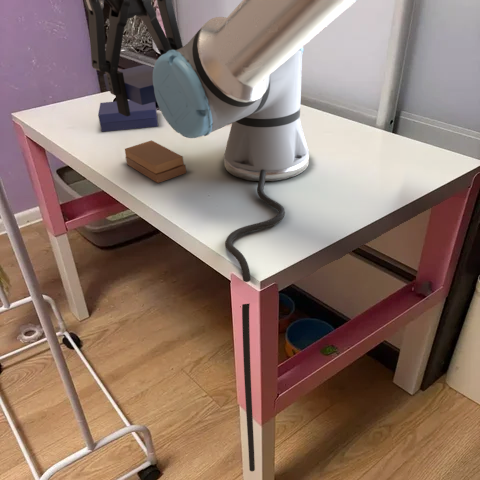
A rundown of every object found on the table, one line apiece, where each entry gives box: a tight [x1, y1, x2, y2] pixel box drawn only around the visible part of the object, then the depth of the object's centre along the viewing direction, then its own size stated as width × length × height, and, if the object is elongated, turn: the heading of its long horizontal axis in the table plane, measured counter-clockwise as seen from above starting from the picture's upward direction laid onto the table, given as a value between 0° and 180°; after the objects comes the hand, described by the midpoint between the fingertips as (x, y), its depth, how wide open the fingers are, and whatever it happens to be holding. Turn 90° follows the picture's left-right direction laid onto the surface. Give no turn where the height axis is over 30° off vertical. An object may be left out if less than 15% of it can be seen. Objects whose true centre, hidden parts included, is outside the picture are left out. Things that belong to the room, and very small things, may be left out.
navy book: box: [102, 64, 157, 105], centre depth 84 cm, size 12×8×2 cm, turn 39°
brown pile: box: [124, 140, 187, 184], centre depth 92 cm, size 11×6×3 cm, turn 39°
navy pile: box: [97, 99, 159, 133], centre depth 111 cm, size 12×8×4 cm, turn 99°
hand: (147, 107), depth 86 cm, fingers closed on navy book, 8 cm apart
